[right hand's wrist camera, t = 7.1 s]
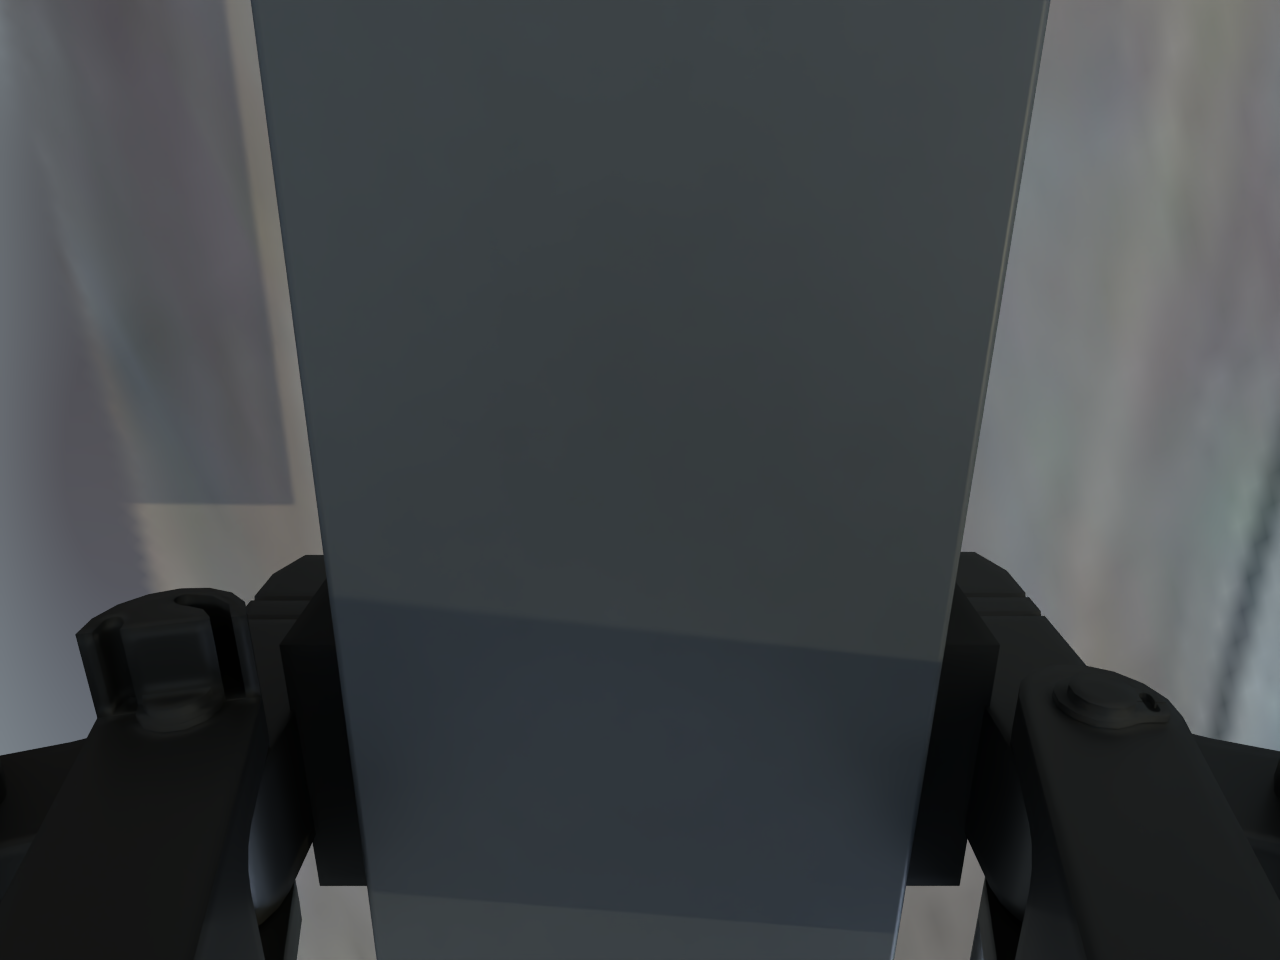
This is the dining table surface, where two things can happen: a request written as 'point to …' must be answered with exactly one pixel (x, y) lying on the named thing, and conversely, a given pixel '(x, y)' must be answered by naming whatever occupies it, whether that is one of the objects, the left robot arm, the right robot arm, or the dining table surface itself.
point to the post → (643, 445)
